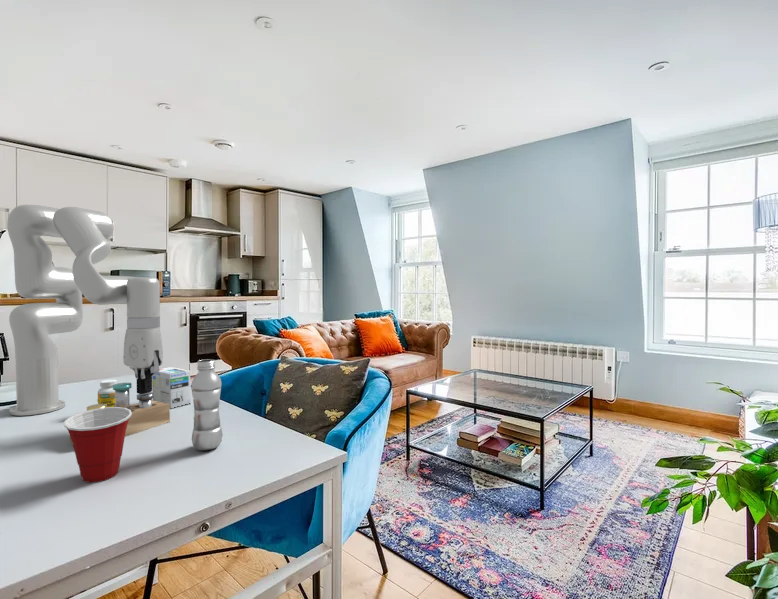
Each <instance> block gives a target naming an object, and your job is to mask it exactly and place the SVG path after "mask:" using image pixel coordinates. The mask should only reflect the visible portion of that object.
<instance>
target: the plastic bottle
mask: <svg viewBox="0 0 778 599" xmlns="http://www.w3.org/2000/svg"><path fill="white" fill-rule="evenodd" d="M215 361H216V360H215V359H207V358H206V359H201V360H200V359H199V360H197V366H196V369H197V370H198V372H197V373H196V375H195V376H194V377H193V379H192V381H191V383H190V389H191V393H192V394H191V396H192V400H193V408H194V409H193V413H194V414H193V415H194V416H193V428H192V432H191V444H192V446H193V448H194V449H195V450H197V451H208V450H213V449H216V448H218V447H219V446H220V445H221V443H222V441H223V440H222V439H223V436H224V434H223V428H222V425H221V416H220V403H221V402H220V401H221V400H220V399H221V392H222V379H221V377H220V376H219V375H218V373H217V372H216V371H215V369H216V362H215Z"/></svg>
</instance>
